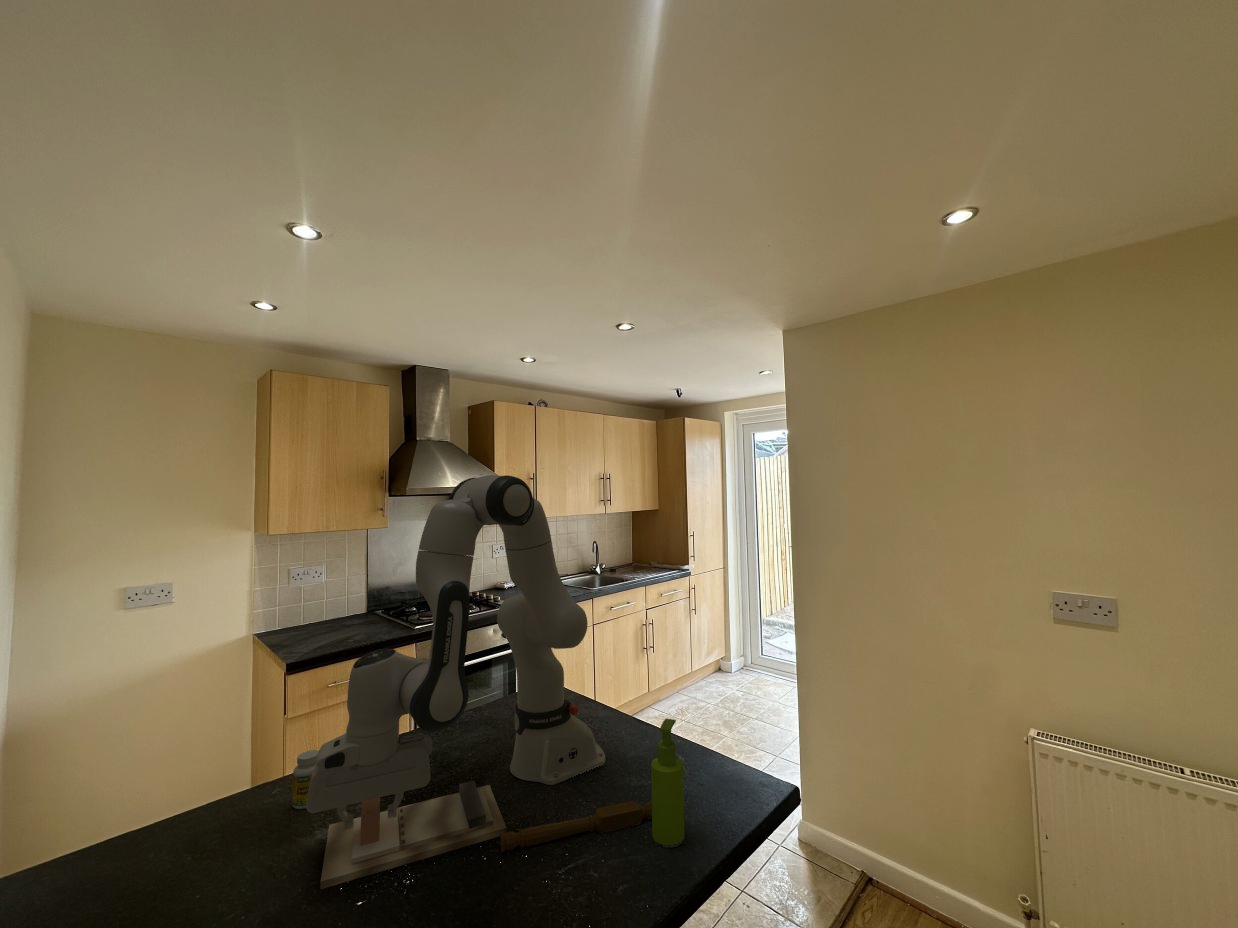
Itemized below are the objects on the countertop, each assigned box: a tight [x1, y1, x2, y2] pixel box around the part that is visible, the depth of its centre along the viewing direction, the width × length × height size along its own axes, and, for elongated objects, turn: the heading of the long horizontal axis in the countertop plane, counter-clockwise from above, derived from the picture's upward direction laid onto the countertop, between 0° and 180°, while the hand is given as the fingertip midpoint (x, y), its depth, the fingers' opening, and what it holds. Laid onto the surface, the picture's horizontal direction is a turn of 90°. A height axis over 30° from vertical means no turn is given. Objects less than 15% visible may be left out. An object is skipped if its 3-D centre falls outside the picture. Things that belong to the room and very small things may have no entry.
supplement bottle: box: [291, 749, 319, 810], centre depth 104 cm, size 5×5×10 cm
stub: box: [351, 797, 399, 864], centre depth 91 cm, size 7×12×6 cm, turn 26°
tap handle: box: [499, 800, 652, 853], centre depth 94 cm, size 3×3×30 cm
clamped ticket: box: [319, 780, 507, 890], centre depth 94 cm, size 30×16×4 cm, turn 116°
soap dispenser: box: [650, 718, 685, 845], centre depth 93 cm, size 6×7×20 cm
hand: (370, 821), depth 91 cm, fingers open, 6 cm apart
